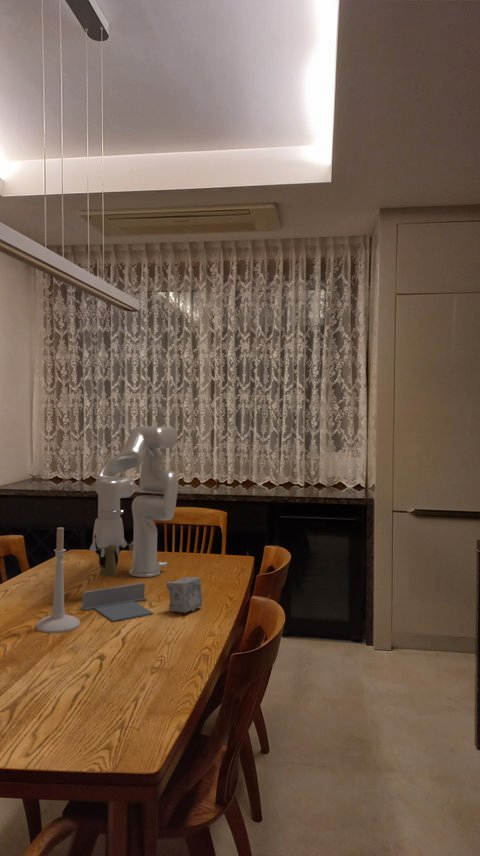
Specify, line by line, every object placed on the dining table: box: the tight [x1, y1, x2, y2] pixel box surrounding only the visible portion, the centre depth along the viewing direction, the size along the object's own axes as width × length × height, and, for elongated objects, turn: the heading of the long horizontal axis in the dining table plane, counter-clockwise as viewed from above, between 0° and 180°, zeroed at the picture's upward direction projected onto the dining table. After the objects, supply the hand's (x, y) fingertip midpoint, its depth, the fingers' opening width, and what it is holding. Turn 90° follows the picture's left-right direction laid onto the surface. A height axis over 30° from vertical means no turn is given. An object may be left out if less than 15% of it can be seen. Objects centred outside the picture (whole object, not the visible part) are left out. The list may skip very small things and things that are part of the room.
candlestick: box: [35, 526, 81, 634], centre depth 180 cm, size 13×13×30 cm
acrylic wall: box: [80, 582, 147, 612], centre depth 202 cm, size 22×4×6 cm, turn 126°
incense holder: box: [166, 576, 203, 613], centre depth 198 cm, size 10×8×10 cm
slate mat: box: [94, 601, 154, 623], centre depth 194 cm, size 14×14×1 cm
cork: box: [99, 545, 118, 577], centre depth 210 cm, size 6×6×11 cm
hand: (108, 565), depth 210 cm, fingers closed on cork, 3 cm apart
